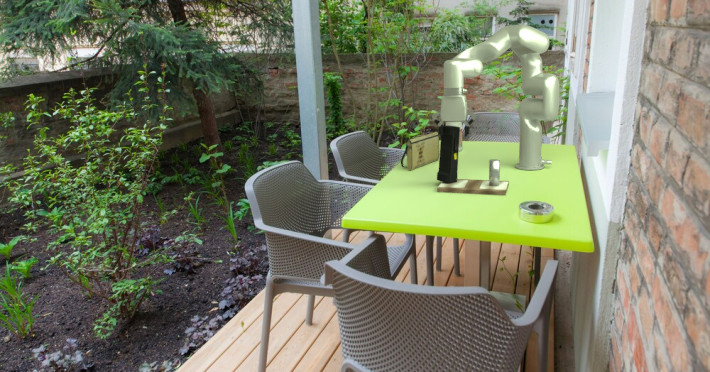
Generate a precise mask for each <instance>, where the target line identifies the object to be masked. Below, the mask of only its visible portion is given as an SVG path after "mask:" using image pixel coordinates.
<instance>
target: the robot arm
mask: <svg viewBox="0 0 710 372" xmlns="http://www.w3.org/2000/svg"><path fill="white" fill-rule="evenodd" d="M549 47H550V39H549V35H548V34H546V33H545V32H544V31H542V30H540V29H537V28H535V27H533V26H530V25H528V24H514V25H512V24H511V25H505V26H503V27H501V28H500V29H499V30H497V31H496V32H494V33H493V34H492V35H491V36H489V37H488V38H487V39H485V40H484V41H482V42H480V43H477V44H475V45H474V46H471V47H469V48H467V49H464V50H462V51H461V52H459V53H458V54H457V55H455V57H453V58H451V59H447V60H445V61H444V62H443V95H442V97H441V102H440V103H441V104H440V110H438V111H437V112H436V113H434V114H431V117H432V121H433V122H434V124H436V125H437V127H438V132H439V137H441V136H443V126H444V122H445V123H446V122H462V124H464V125H465V126H464V137H465V138H467V137H468V136H469V135H470V125H471V124H472V123H474V121H475V120H476V117H477V114H476V113H474V112H472V111H470V110H468V101H467V100H468V99H467V95H466V93H468V89H467V88H465V85H464V83H465V81H464V79H465V78H466V79H467V78H468V79H471V78H477V77H478V76H480V75H481V74H483V70H484V64H483V63H488V62H491V61H494V60H496V59H498V58H499V57H500V56H501V55H503V54H505V53H506V51H508V50H511V52H513V53H514V54H515V55H516V56H517V57H518V59H519V60H520V64H521V89H522V90H521V91H522V92H523V94H525V95H527V96H540V97H541V96H542V98H540V97H537V98H536V97H527V98H524V99H522V100H521V101H520V103H519V104H518V108H517V110H518V117H519V146H518V147H519V151H518V162H517V163H515V165H514V166H515V169H518V170H524V171H538V170H543V169H544V168H545V165H549V166H550V165H552V159H551V160H550V159H543V158H542V145H543V144H542V143H543V141H542V140H543V126H542V124H541V122H540V121H544V122H546V121H547V122H551V121H552V122H553V121H554V120H556V118H557V117H558V115H559V113H560V112H559V111H560V90H561V89H560V88H561V87H560V80H559V78H558V76H557V75H556V74H554V73H550V72H549V73H548V72H543V60H542V56H541V55H542V54H543V53H546V51H548V49H549ZM540 54H541V55H540ZM438 116H440V120H439V119H438V118H437V117H438ZM468 116H471V119H470V120H468Z"/></svg>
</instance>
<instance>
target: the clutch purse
mask: <svg viewBox="0 0 710 372" xmlns="http://www.w3.org/2000/svg"><path fill="white" fill-rule="evenodd" d="M405 157H406V168H407V170H408V171H410V172H411V171H413V170H415V169H419V168H420V167H424V166H425V165H428V164H431V163H434V162H436V161H439V158H440V134H439V131H434V132H431V133H428V134H424V135H421V136H418V137H417V136H416V137H414V138H410V139H407V141H406V143H405V149H404V152H403V154H402V157H401V160H400V166H401V167H402V168H405V166H404V160H405V159H404V158H405Z"/></svg>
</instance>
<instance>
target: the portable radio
mask: <svg viewBox="0 0 710 372" xmlns="http://www.w3.org/2000/svg"><path fill="white" fill-rule="evenodd" d="M459 135H460V127H456V126H446V122H444V123H443V136H440V143H439V159H438V171H437V173H436V180H437V181H439V182H441V183H442V182H446V183H451V182H457V179H458V170H459V164H458V163H459V152H460V151H459Z"/></svg>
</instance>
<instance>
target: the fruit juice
mask: <svg viewBox="0 0 710 372" xmlns="http://www.w3.org/2000/svg"><path fill="white" fill-rule="evenodd" d="M445 124H446V126H456V127H460V135H459V151H458V152H462V151H463V122H445Z"/></svg>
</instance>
